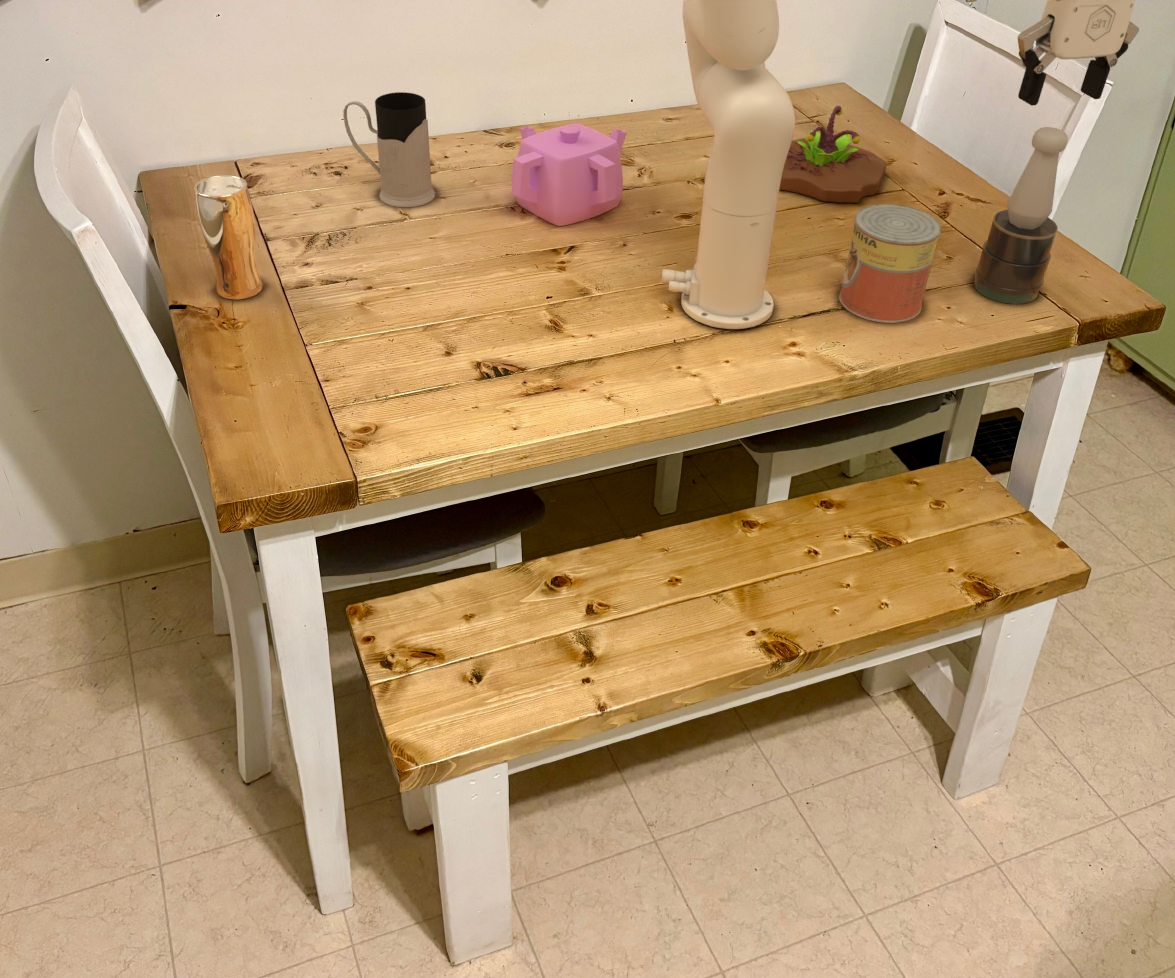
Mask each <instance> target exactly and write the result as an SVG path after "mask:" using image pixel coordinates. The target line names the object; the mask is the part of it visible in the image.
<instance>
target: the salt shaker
mask: <svg viewBox="0 0 1175 978" xmlns="http://www.w3.org/2000/svg"><path fill="white" fill-rule="evenodd" d="M1068 137H1069V136H1068V135H1067V133H1066V132H1065V131H1063V130H1062V129H1060V128H1057V127H1051V126H1044V127H1043V126H1042V127H1039V128H1038V129H1037V130H1035V131H1034V133H1033V135H1032V138H1031V147H1032V148H1034V150H1033V152H1032V154H1031V156H1030V158H1029V160H1028V162H1027V164H1026V165H1025V167H1024V169H1023V171H1022V173H1021V175H1020V177H1019V179H1018V181H1017V182H1016V184H1015V187H1014V189H1013V191H1012V193H1011V195H1010V197H1009V199H1007V200H1008V201H1007V204H1006V205H1007V210H1008V214H1009V221H1010V223H1011V224H1013V225H1015V226H1016V227H1018V228H1023V229H1031V230H1033V229H1035V228H1037V227H1040V226H1041V225H1042V224H1043V222H1044V221H1045V220H1046V219H1047V218H1050V215H1051V214H1052V212H1053V207H1054V199H1055V191H1056V190H1055V189H1056V182H1057V175H1058V174H1057V173H1058V164H1059V158H1060V157H1059V156H1060V153H1062V152H1063V151H1064V150H1065V149H1066V147H1067V145H1068V140H1069V138H1068Z"/></svg>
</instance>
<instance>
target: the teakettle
mask: <svg viewBox="0 0 1175 978" xmlns="http://www.w3.org/2000/svg"><path fill="white" fill-rule="evenodd" d="M519 134H520V136H521V142H520V146H519V150H518V155H517V157H514V158H512V159H513V160H512V171H511V173H512V174H511V176H512V177H511V184H510V185H511V188H510V193H511V194H512V195H513V196H514V197H515V199H516V202H517V204H518V205H519V206H520V207H522V208H523V209H524V210H526V211H528V212H530V213H531V214H533V215H535V216H537V217H539V218H540V219H542V220H544V221H546V222H547V223H550V224H551V225H554V226H556V227H564V226H570V225H573V224H577V223H580V222H584V221H586V220H590V219H593V218H595V217H599V216H601V215H602V214H605V213H607V212H610V211H611V210H613V209H615V208H616V207H618V206H619V204H620V202H621V199H622V197H623V192H624V177H623V165H622V160H621V159H622V158H621V152H622V149H623V147H624V143H625V141H626V137H627V134H628V132H627V131H625V130H623V129H612V132H611V133H610V135H609V136H608V135H606V134H604V133H602V132H599V131H598V130H596V129H594V128H591V127H589V126H586V125H584V124H582V123H579V122H577V123H576V122H575V123H569V124H564V125H561V126H557V127H554V128H549V129H546V130H543V131H540V132H536V131H535V129H534V127H532V126H524V127H521V128H519Z"/></svg>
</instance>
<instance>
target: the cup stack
mask: <svg viewBox="0 0 1175 978" xmlns="http://www.w3.org/2000/svg"><path fill="white" fill-rule="evenodd" d="M1057 233H1058V225H1057V223H1056V222H1055V221H1054V220H1053V219H1052V218H1050V217H1048V218H1047V219H1046V220H1045V221H1044V222H1043V224H1042V225H1041V226H1040V227H1037V228H1035V229H1033V230H1031V229H1023V228H1018V227H1016V226H1015V225H1013V224H1011V223H1010V221H1009V214H1008V209H1004V210H1000V211H998V212H996V213H995V214H994V216H993V218H992V222H991V226H990V229H989V232H988V235H987V239H986V240H985V241H984V242H983V246H982V249H981V252H980V256H979V260H978V263H977V265H976V266H975V270H974V281H973V282H974V283H973V284H974V288H975V289H976V290H977V292H978V293H980V294H981V295H982V296H984V297H986V298H987V299H990V300H992V301H995V302H1000V303H1003V304H1010V305H1011V304H1012V305H1022V304H1023V305H1024V304H1027V303H1031V302H1033V301H1034V300H1035V299H1036V298H1037V297H1038V294H1039V292H1040V291H1041V290H1042V289H1043V286H1044V283H1045V277H1046V274H1047V271H1048V268H1049V264H1050V261H1051V258H1052V255H1051V251H1052V249H1053V248H1052V247H1053V244H1054V241H1055V239H1056V236H1057Z"/></svg>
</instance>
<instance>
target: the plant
mask: <svg viewBox="0 0 1175 978" xmlns="http://www.w3.org/2000/svg"><path fill="white" fill-rule="evenodd" d="M841 115H843V107H842V106H841V105H836V106H835V107H834V108H833V110H832V112H831V114H830V117H829V118H828V123H827V126H826V129H825V127H824V126H820V125H819V126H817V127H816V128H815V129H812V130H810V132H809V133H808V134H807V135H806V136H805V137H804V138H797V139H792V142H791V145H790V148H789V151H788V154H787V157H786V161H785V164H784V168H783V172H782V177H781V182H780V189H779V191H780V190H781V191H786V192H791V193H796V194H799V195H803V196H807V197H810V198H812V199H813V198H814V199H816V200H819V201H820V202H824V203H825V202H829V203H836V204H846V203H849V204H851V203H852V204H859V203H860V200H861V199H862V198H864V197H869V196H874V195H876V194H877V192H878V190H879V188H880V186H881V184H882V181H883V179H884V178H885V174H886V171H887V170H886V169H887V161H886V160H884V159H882V158H881V157H879V156H878V155H876V154H875V153H873V152H872V151H869V150H867V149H864V148H861V147H858V146H855V145H859V143H860V141H861V136H860V134H858V133H857V132H856V131H854V130H849V129H846V130H842V131H840V132H838V133H836V134H835V131H834V127H835V125H834V124H835V119H836V116H837V117H838V116H841ZM851 143H852V144H854V145H851Z"/></svg>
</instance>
